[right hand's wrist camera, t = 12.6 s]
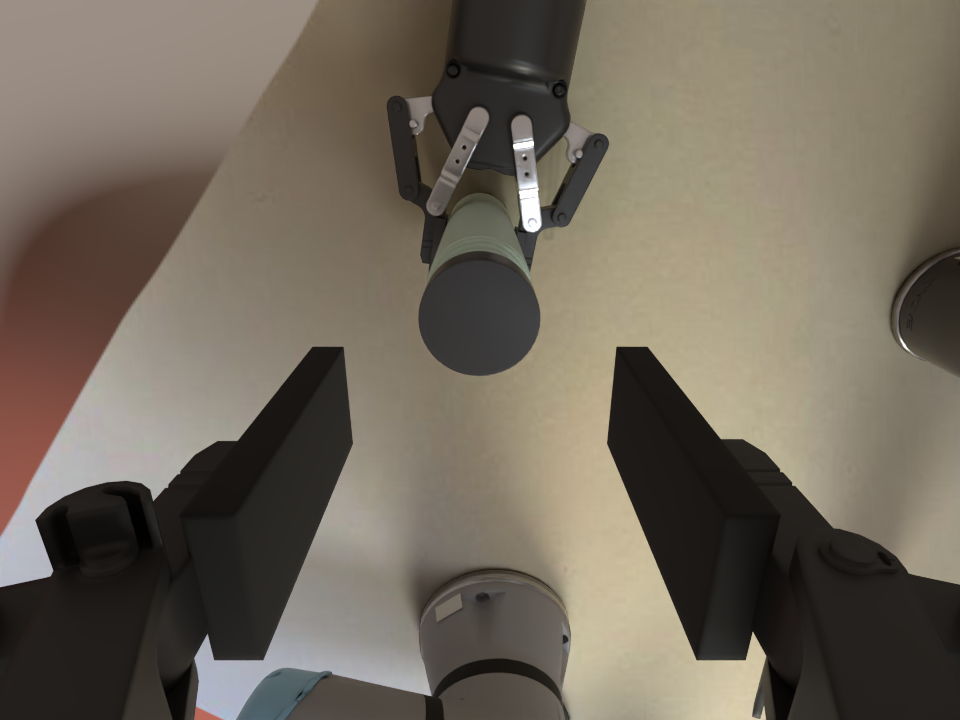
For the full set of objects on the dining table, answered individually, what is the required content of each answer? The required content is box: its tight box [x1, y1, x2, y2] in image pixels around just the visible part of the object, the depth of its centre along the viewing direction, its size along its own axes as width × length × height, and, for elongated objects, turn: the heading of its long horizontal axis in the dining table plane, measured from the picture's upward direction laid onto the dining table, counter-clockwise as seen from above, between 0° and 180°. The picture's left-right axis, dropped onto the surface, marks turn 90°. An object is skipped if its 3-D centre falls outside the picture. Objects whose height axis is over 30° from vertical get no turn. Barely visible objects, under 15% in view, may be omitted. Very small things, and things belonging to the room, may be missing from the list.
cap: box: [419, 251, 540, 376], centre depth 21 cm, size 4×4×2 cm
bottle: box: [427, 193, 532, 284], centre depth 32 cm, size 5×5×24 cm
